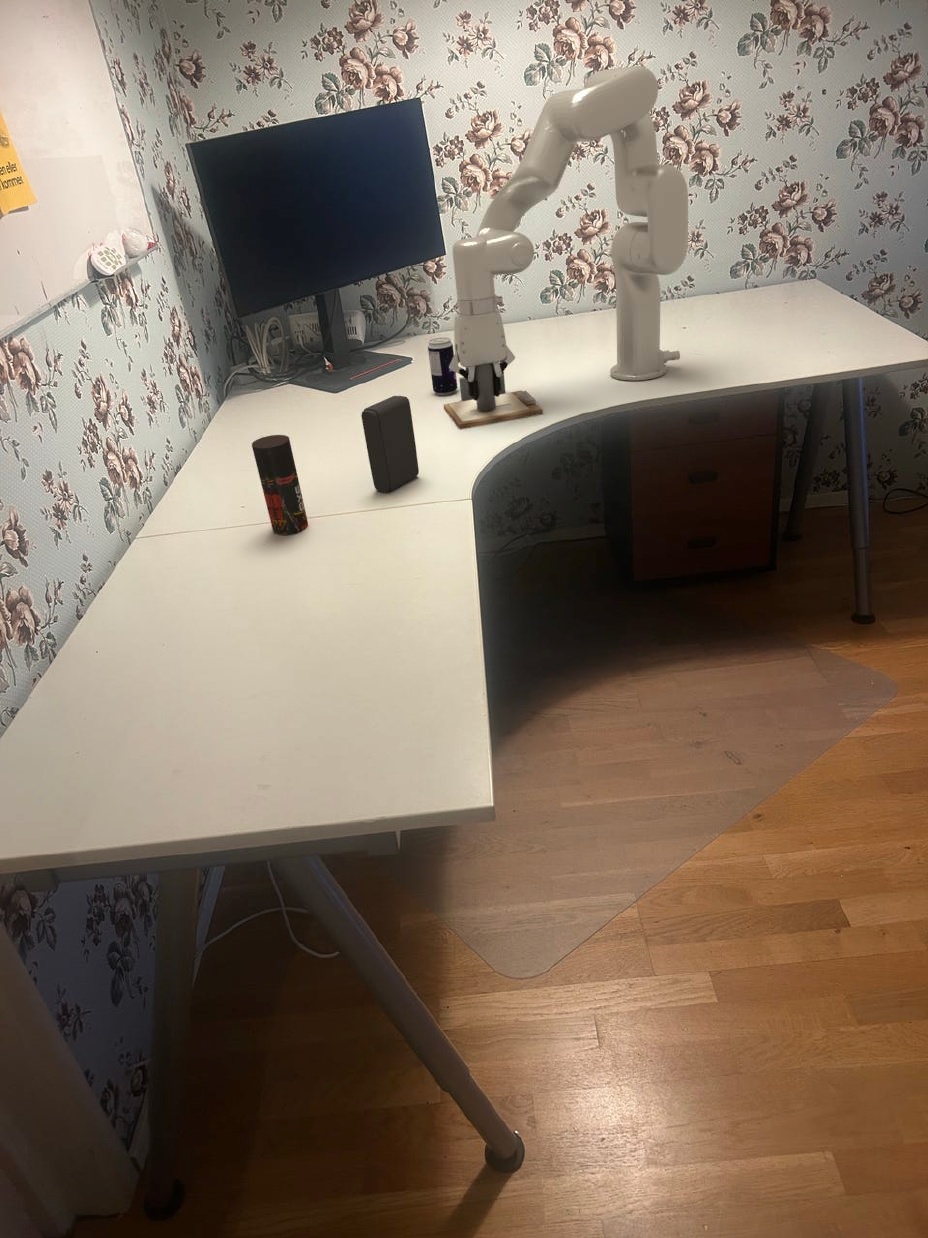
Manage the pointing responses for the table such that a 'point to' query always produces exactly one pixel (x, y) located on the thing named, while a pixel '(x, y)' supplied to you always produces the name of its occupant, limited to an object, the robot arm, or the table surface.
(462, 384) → the bar
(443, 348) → the beverage can
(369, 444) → the dark grey rounded block
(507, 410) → the clipboard
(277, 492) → the deodorant
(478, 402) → the marker
